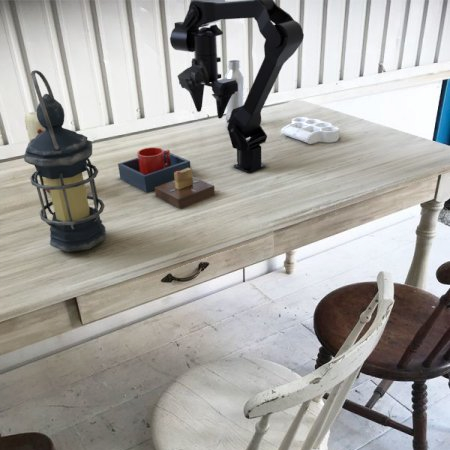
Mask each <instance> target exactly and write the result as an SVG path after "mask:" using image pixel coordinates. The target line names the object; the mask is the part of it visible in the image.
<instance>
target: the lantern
mask: <svg viewBox="0 0 450 450" xmlns="http://www.w3.org/2000/svg"><path fill="white" fill-rule="evenodd" d="M36 74H37V75H38V76H39V77H40V78H41V81H42V82H43V84H44V86H45V88H46V90H47V93H44V94H43V95H42V92H41V89H40V86H39V83H38V80H37V76H36ZM30 76H31V79H32V83H33V87H34V89H35V92H36V96H37V99H38V105H37V107H36V112H37V118H38V121H39V123H40V124H41V126H42V127H44V128H45V129H46V130H45V131H43V132H41V133H40V134H38V135H37V136H36V138H34V139H32V140H31V141H30V142H29V141H28V144H27V147H26V148H25V152H24V154H23V159H24V160H23V161H24V162H25V163H27V164H29V165H32V166H34V168H35V170H36V171H34V172H33V173H32V175H30V177H29V179H30V183H31V185H32V186H34V187H36V191H37V194H38V198H39V203H40V206H41V209H40V211H39V212H38V213H39V216H40V220H42V221H43V222H45V223H46V225H48V226H49V232H50V235H49V237H50V239H49V240H50V241H49V246H51V247H53V248H55V249H58V250H61V251H64V252H67V253H73V252H80V251H88V250H90V249H92V248H93V247H95V246H97V245H98V244H100V243H102V242H103V241H105V239H106V238H107V236H106V235H107V233H106V231H107V230H106V226H105V224H103V221H102V219H101V217H100V215H101V214H102V213H103V212H104V210H105V207H106V206H105V203H104V202H103V200H102V199H100V198H99V197H98V192H97V187H96V181H95V179H96V178H97V176H98V175H99V170H98V168H97V166H95V165H94V164H92V162H91V160H90V158H91V157H92V155H93V142H92V140H90V139H89V140H88V136H86V135H84V134H82V133H78V132H76V131H74V130H72V129H68V128H65V127H63V125H64V124H65V117H66V116H65V110H64V107H63V105H62V104H61V102H59V101H58V100H57V99H55V96H54V93H53V90H52V88H51V86H50V84H49V82H48V80H47V78H46V76H45V75H44V74H43V73H42V72H41V71H39V70H37V69H36V70H32V71H31V72H30ZM84 172H87V175H88V177H87V178H86V179H84V176H83V173H84ZM42 177H45V178H47V182H48V186H47V185H44V183H43V179H42ZM38 178H39V180H38ZM39 181H40V183H39ZM88 183H89V186H90V191H91V195H88V194H87V191H86V186H85V185H86V184H88ZM41 189H42V191H41ZM45 189H48V190H50V193H49V194H50V198H51V201H50V202H49V198H48V195H47V191H46V190H45ZM42 193H43V196H44V199H43V196H42ZM44 200H45V202H44ZM89 200H93V206H94V207H92V206H90V204H89ZM99 205H100V207H99ZM51 206H53V210H54V211H52V209H51ZM98 208H99V209H98ZM46 211H48V212H49V214H51V216H52V219H49V218H48V214H47V212H46Z"/></svg>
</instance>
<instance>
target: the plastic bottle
mask: <svg viewBox="0 0 450 450" xmlns="http://www.w3.org/2000/svg"><path fill="white" fill-rule="evenodd" d="M227 63H228V66H227V68H228V70H227V72H226V73H225V75H224V78H223V79H225V78H229V79H233V80H236V81H237V82H238V91H237V92H235V94H232V96H231V98H230V100H229V102H228V104H227V107H226V112H225V121H226V124H227V125H228V124H229V123H228V122H227V121H228V120H229V118H230V116H231V112H232V110H233V109H235V108H238V107H240V106H243V105H244V103H245V101H244V96H245V83H246V79H245V75H244V73H243V72H242V70H241V69H240V68H241V67H242V66H241V60H239V59H231V60H229V61H228V62H227Z"/></svg>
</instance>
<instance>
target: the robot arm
mask: <svg viewBox="0 0 450 450" xmlns="http://www.w3.org/2000/svg"><path fill="white" fill-rule="evenodd" d="M237 19H238V20H239V19H240V20H241V19H254V20H255V21H256V23H257V27H258V31H259V33H260V35H262V37H263V38H264V39H265V40H264V44H263V51H264V57H263V60H262V62H261V65H260V67H259V69H258V71H257V73H256V76H255V78H254V80H253V83H252V85H251V87H250V89H249V92H248V94H247V96H246V98H245V101H244V105H243V106H240V107H238V108H235V109H233V110H232V112H231V116H230V118H229V120H228V121H227V122H228V123H229V124H227V127H226V128H227V132H228V137H229V140H230V143H231V146H232V148H233V149H235V150H236V164H234V165H233V168H234V169H237V170H240V171H243V172H245V173H248V174H251V173H253V172H256V171H258V170H261V169H264V168H266V164H264V163H262V144H264V143H266V141H267V139H268V135H267V133H266V132H265V130H264V129H263V127H262V126H261V124H262V110H263V108H264V106H265V104H266V101H267V100H268V97H269V96H270V93H271V92H272V89H273V87H274V85H275V83H276V81H277V78H278V76H279V74H280V73H281V70H282V68H283V66H284V64H285V63H286V62H287V61H288V60H289V59H290V58H291V57H292V56H293V55H294V54H295V53H296V51H297V50H298V48H299V47H300V46H301V44H302V43H303V41H304V36H305V35H304V32H303V28H302V26H301V24H300V23H299V21H296V20H295V19H294V18H293V17H292V15H291V14H290V13H288V12H287V11H285V10H284V9H283V8H282V7H280V6H279V5H278V4H277V3H276V2H275V0H229V1H228V0H191V1H190V2H189V6H188V10H187V13H186V14H185V17H184V19H183V21H177V22H174V23H173V24H174V28H173V29H172V30H171V33H170V36H169V42H170V46H171V47H172V48H173V50H175V51H181V52H187V53H194V58H191V65H190V66H189V67H187V68H186V69H184V70H183V71H182V72H180V73H179V74H177V79H178V84H179V85H180V87H181V88H182V89H185V90H186V91H187V92H188V93H189V95H190V97H191V99H192V102H193V104H194V107H195V109H196V110H195V111H196V112H197V113H200V112H202V107H203V102H204V101H203V100H204V91H205V86H206V87H210V88H211V92H212V93H211V96H212V97H213V98H214V99H215V103H216V114H217V118H218V119H222V118H223V117H224V114H225V113H226V112H225V111H226V110H227V104H228V102H229V100H230V98H231V96H232V94H235V92H237V91H238V82H237V81H236V80H233V79H229V78H225V77H224V78H225V79H224V78H222V74H221V73H219V66H218V64H219V63H221V62H222V59H221V58H222V57H220V56H218V45H217V43H218V42H217V37H218V36H222V35H224V32H223V30H222V29H221V28H219V26H218V25H217V24H216V23H218V22H221V21H223V20H237ZM209 25H210V26H209ZM208 26H209V27H208ZM227 122H226V123H227Z"/></svg>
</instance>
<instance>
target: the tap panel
mask: <svg viewBox="0 0 450 450" xmlns="http://www.w3.org/2000/svg"><path fill="white" fill-rule="evenodd" d="M192 177H193V185H190V186H187V187H185V188H182V189H179V190H178V189H176V188H175V180H174V181H171V182H168V183H165V184H163V185H160V186H157V187H155V190H154V194H155V197H156V198H158V199H160V200H161V201H164V203H165V202H166V203H167V204H170V205H171V206H173V207H175V208H177V209H179V210H180V209H183V208H185V207H188V206H190V205H193V204H196V203H198V202H200V201H201V202H202V201H204V200H206V199H208V198H211V197H213V196H215V194H216V192H215V185H214V184H212V183H209V182H207V181H205V180H202V179H200V178H197V177H195V176H193V175H192Z"/></svg>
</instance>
